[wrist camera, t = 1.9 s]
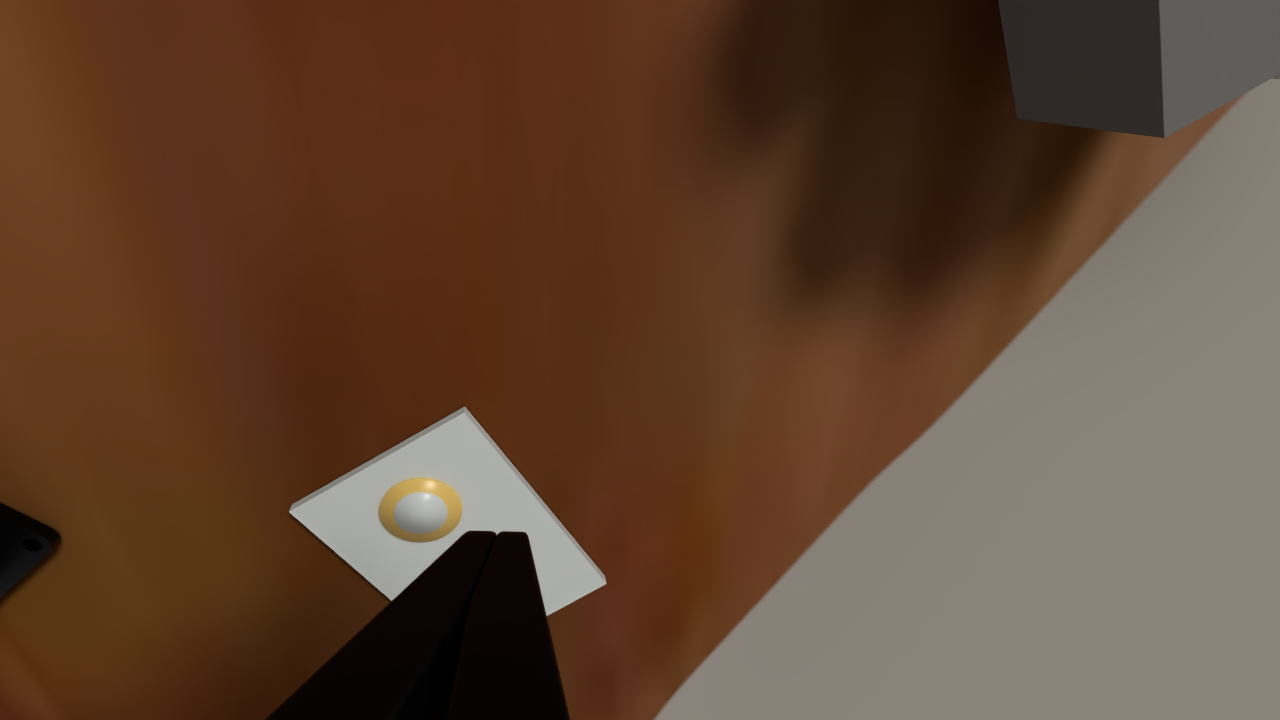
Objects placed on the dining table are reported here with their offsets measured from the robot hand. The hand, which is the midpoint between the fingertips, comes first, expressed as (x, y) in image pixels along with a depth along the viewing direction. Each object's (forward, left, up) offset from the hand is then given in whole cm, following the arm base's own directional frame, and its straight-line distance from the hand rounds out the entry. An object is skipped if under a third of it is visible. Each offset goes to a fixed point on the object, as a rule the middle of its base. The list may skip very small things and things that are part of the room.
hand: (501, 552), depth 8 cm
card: (-9, -7, -12) cm, 16 cm away
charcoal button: (+16, -4, -8) cm, 18 cm away
